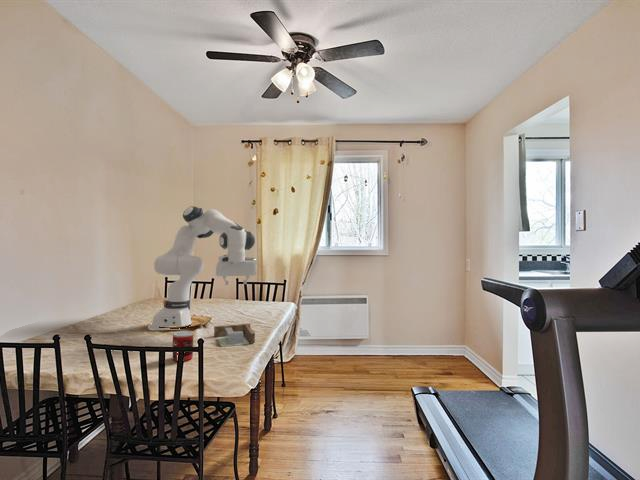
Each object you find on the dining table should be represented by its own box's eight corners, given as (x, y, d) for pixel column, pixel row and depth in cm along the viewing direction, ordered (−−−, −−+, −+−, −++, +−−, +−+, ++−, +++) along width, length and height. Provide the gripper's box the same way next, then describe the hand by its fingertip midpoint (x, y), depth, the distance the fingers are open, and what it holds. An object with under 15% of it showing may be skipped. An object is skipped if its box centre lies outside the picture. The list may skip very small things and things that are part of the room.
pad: (221, 346, 168) (221, 346, 168) (217, 338, 180) (217, 337, 180) (249, 343, 173) (249, 343, 173) (243, 335, 186) (243, 335, 186)
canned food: (175, 355, 155) (176, 330, 154) (194, 355, 155) (195, 330, 155) (169, 362, 147) (170, 335, 147) (190, 362, 148) (190, 335, 147)
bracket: (224, 337, 180) (224, 327, 180) (238, 336, 183) (239, 326, 183) (228, 344, 170) (228, 334, 170) (243, 343, 173) (243, 332, 173)
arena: (218, 347, 167) (219, 336, 167) (214, 336, 183) (214, 326, 183) (257, 343, 174) (257, 333, 174) (249, 332, 190) (249, 323, 190)
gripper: (255, 256, 193) (254, 282, 194) (215, 257, 186) (215, 283, 187) (257, 258, 187) (257, 284, 188) (216, 258, 180) (216, 286, 181)
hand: (235, 284), depth 188 cm, fingers open, 8 cm apart
